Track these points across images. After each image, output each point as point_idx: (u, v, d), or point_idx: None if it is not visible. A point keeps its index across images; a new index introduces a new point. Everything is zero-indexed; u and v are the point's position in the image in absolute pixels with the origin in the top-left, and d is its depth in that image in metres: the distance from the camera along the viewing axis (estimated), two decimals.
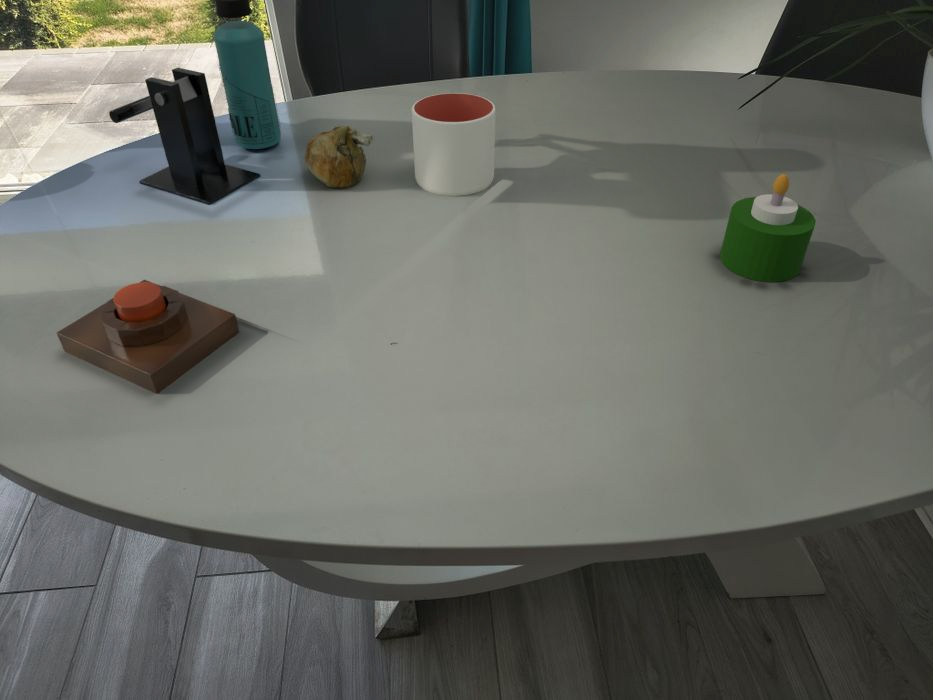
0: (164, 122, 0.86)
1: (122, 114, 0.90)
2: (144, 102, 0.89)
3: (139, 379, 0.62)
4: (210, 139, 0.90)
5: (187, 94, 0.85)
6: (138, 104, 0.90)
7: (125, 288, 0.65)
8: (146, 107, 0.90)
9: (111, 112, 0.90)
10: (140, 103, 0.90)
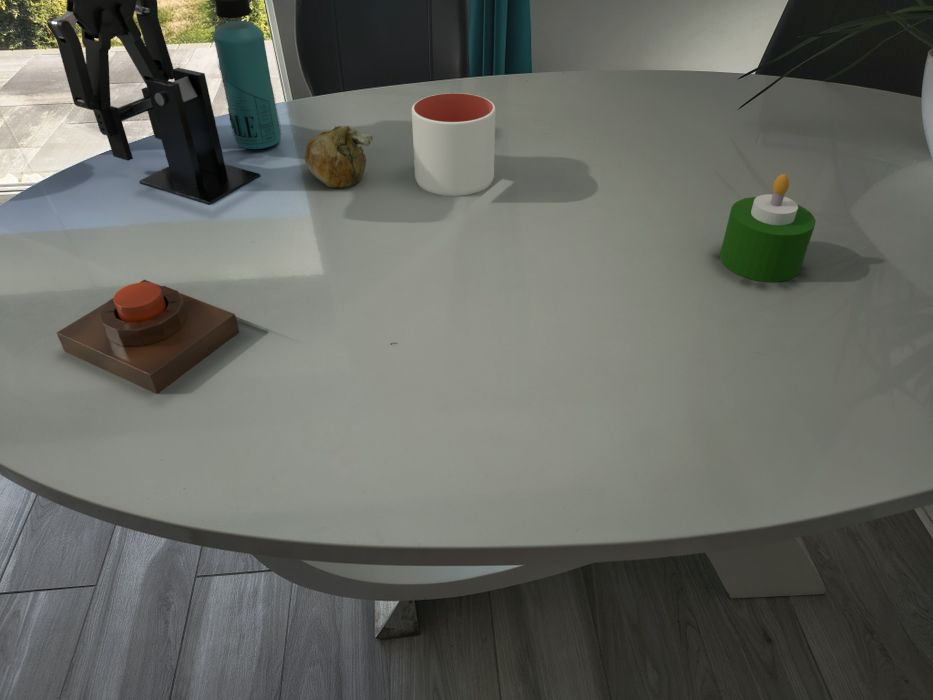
0: (164, 122, 0.86)
1: (122, 114, 0.90)
2: (144, 102, 0.89)
3: (139, 379, 0.62)
4: (210, 139, 0.90)
5: (187, 94, 0.85)
6: (138, 104, 0.90)
7: (125, 288, 0.65)
8: (146, 107, 0.90)
9: None
10: (140, 103, 0.90)
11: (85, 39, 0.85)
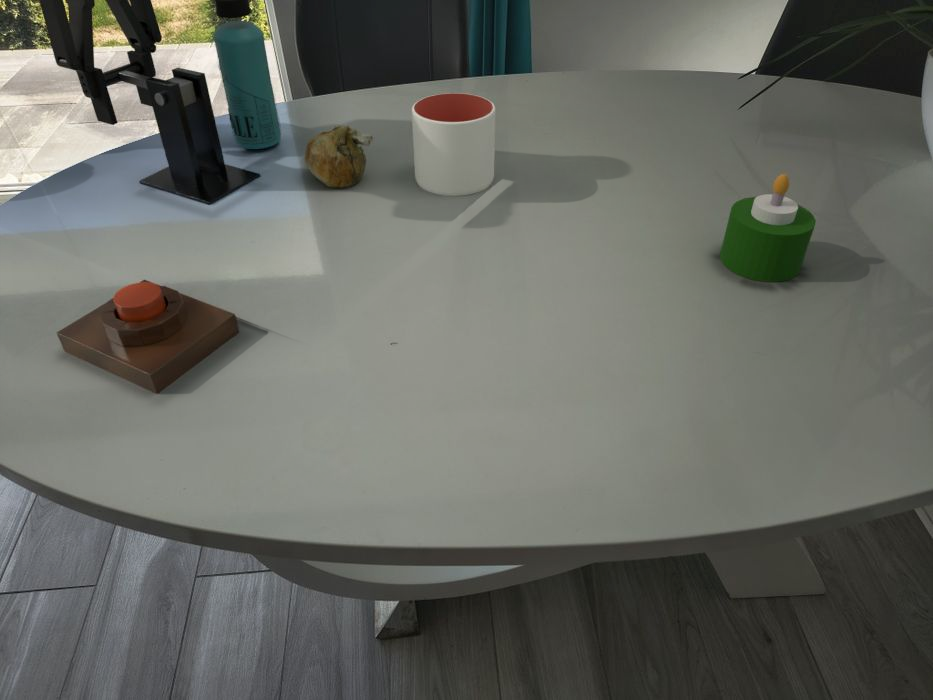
0: (164, 122, 0.86)
1: (109, 81, 0.88)
2: (136, 79, 0.88)
3: (139, 379, 0.62)
4: (210, 139, 0.90)
5: (188, 99, 0.86)
6: (128, 77, 0.88)
7: (125, 288, 0.65)
8: (136, 84, 0.88)
9: None
10: (131, 77, 0.88)
11: None
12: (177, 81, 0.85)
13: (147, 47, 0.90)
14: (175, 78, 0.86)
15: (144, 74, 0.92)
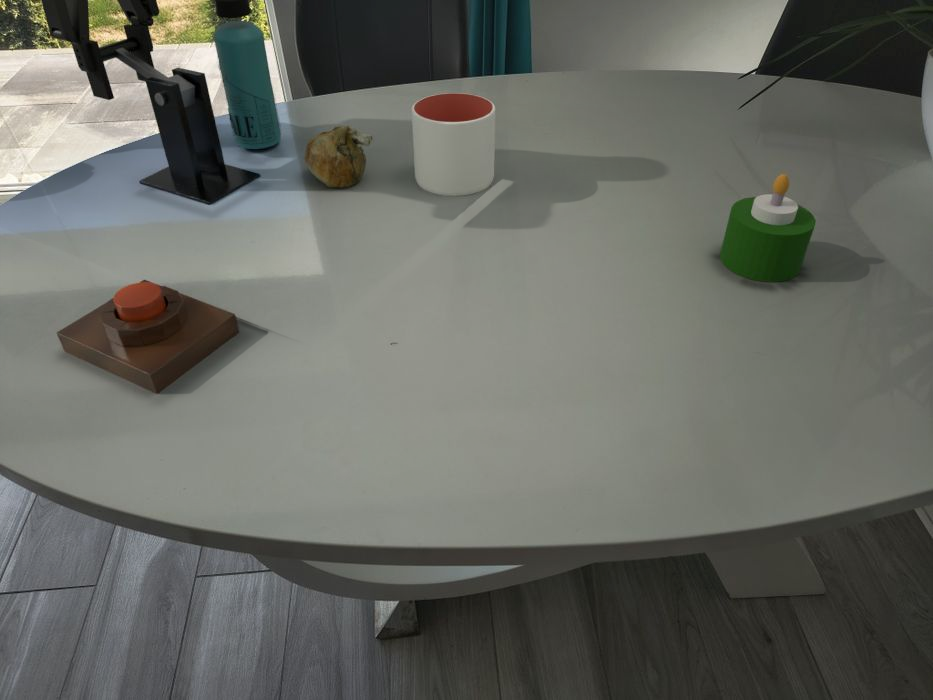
0: (164, 122, 0.86)
1: (105, 58, 0.86)
2: (134, 64, 0.86)
3: (139, 379, 0.62)
4: (210, 139, 0.90)
5: (187, 102, 0.86)
6: (126, 58, 0.86)
7: (125, 288, 0.65)
8: (133, 68, 0.87)
9: None
10: (128, 60, 0.86)
11: None
12: (179, 82, 0.85)
13: (144, 20, 0.88)
14: (177, 77, 0.86)
15: (141, 48, 0.89)
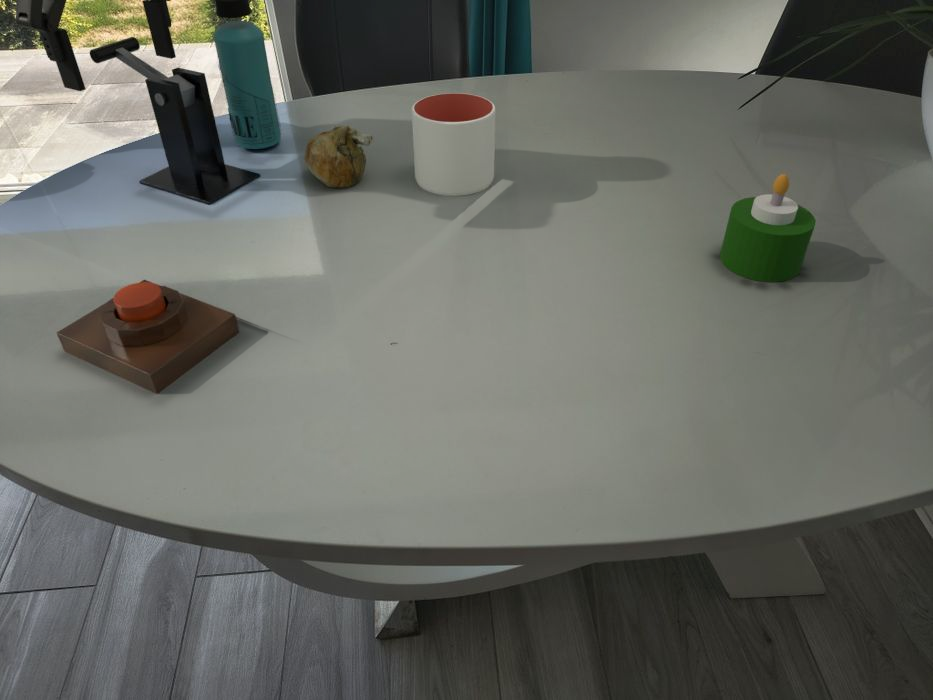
0: (164, 122, 0.86)
1: (105, 58, 0.86)
2: (134, 64, 0.86)
3: (139, 379, 0.62)
4: (210, 139, 0.90)
5: (187, 102, 0.86)
6: (125, 58, 0.86)
7: (125, 288, 0.65)
8: (133, 68, 0.87)
9: (94, 52, 0.85)
10: (128, 60, 0.86)
11: None
12: (179, 82, 0.85)
13: None
14: (177, 77, 0.86)
15: (160, 23, 0.90)
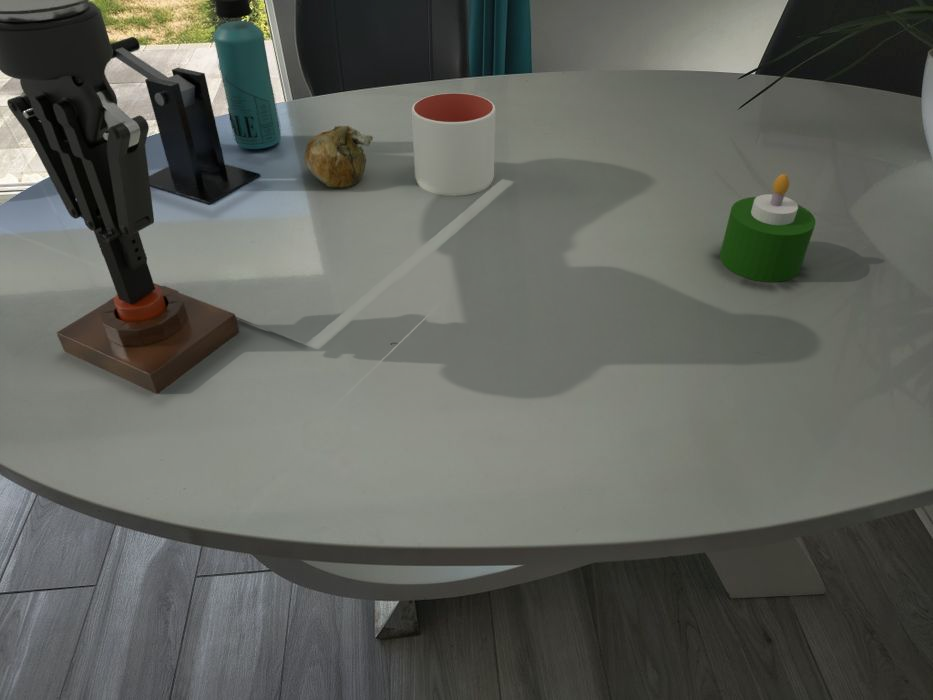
0: (164, 122, 0.86)
1: None
2: (134, 64, 0.86)
3: (139, 379, 0.62)
4: (210, 139, 0.90)
5: (187, 102, 0.86)
6: (125, 58, 0.86)
7: None
8: (133, 68, 0.87)
9: None
10: (128, 60, 0.86)
11: None
12: (179, 82, 0.85)
13: (107, 231, 0.59)
14: (177, 77, 0.86)
15: None
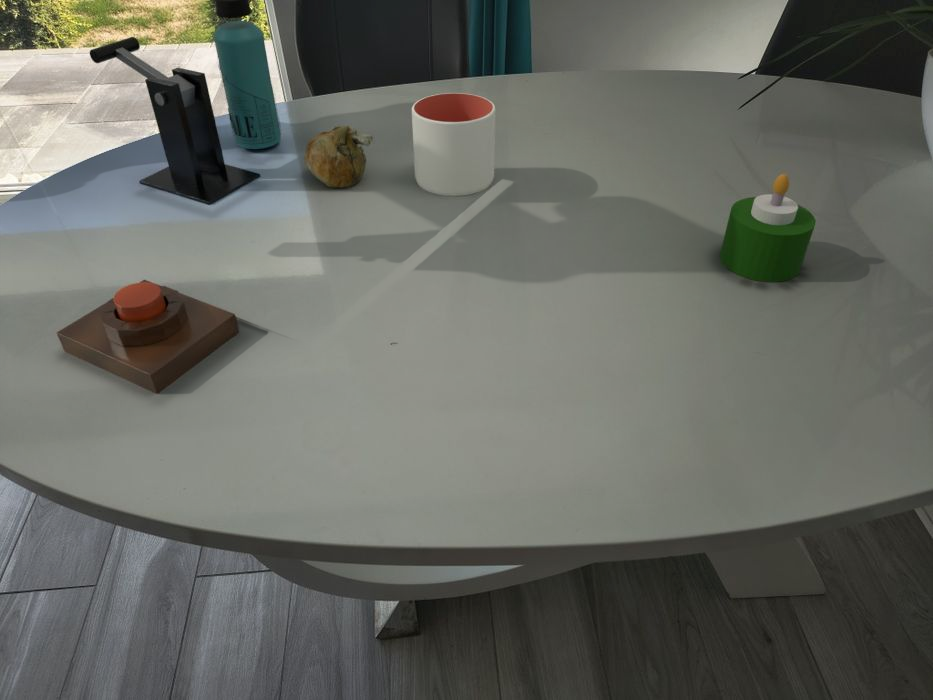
0: (164, 122, 0.86)
1: (105, 58, 0.86)
2: (134, 64, 0.86)
3: (139, 379, 0.62)
4: (210, 139, 0.90)
5: (187, 102, 0.86)
6: (125, 58, 0.86)
7: (125, 288, 0.65)
8: (133, 68, 0.87)
9: (94, 52, 0.85)
10: (128, 60, 0.86)
11: None
12: (179, 82, 0.85)
13: None
14: (177, 77, 0.86)
15: None
